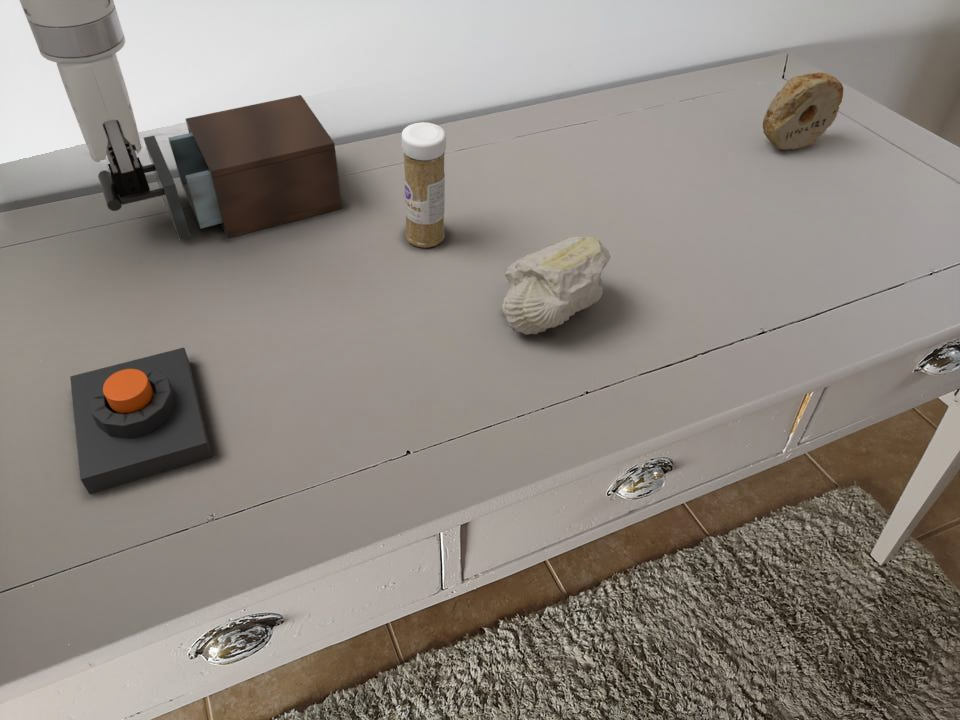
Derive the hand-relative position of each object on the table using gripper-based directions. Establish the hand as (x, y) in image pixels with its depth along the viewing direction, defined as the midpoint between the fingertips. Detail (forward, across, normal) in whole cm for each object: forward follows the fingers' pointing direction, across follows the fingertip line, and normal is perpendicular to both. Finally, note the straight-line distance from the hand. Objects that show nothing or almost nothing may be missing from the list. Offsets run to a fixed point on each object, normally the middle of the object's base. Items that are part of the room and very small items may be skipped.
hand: (135, 195), depth 85 cm
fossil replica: (+5, +32, +34) cm, 47 cm away
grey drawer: (+3, 0, +6) cm, 7 cm away
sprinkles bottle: (+5, +15, +28) cm, 32 cm away
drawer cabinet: (+4, 0, +14) cm, 15 cm away
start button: (+1, +29, -6) cm, 29 cm away
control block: (+4, +29, -6) cm, 30 cm away
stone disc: (+5, +17, +81) cm, 83 cm away
